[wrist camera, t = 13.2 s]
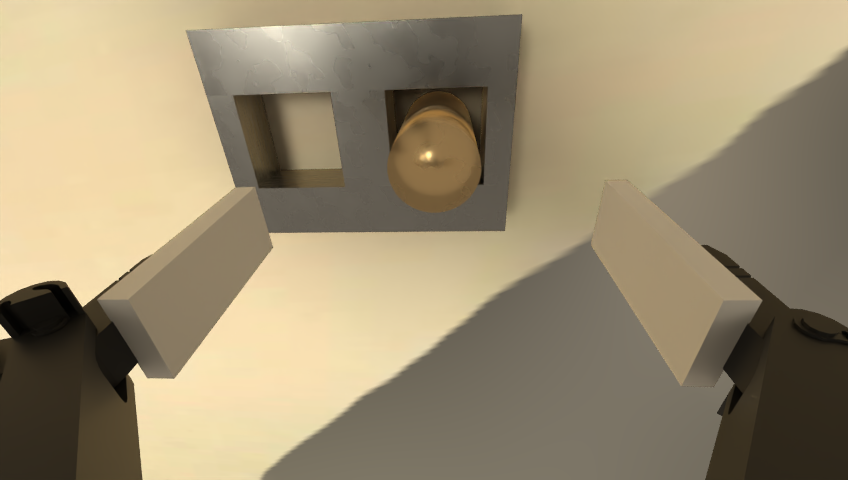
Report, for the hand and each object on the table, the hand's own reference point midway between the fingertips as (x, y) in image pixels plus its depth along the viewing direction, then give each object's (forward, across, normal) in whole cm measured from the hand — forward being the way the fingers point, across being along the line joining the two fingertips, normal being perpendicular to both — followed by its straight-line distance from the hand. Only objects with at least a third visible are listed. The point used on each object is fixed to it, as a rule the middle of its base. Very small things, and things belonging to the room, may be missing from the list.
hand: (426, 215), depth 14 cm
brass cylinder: (+16, 0, 0) cm, 16 cm away
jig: (+16, -5, 0) cm, 17 cm away
